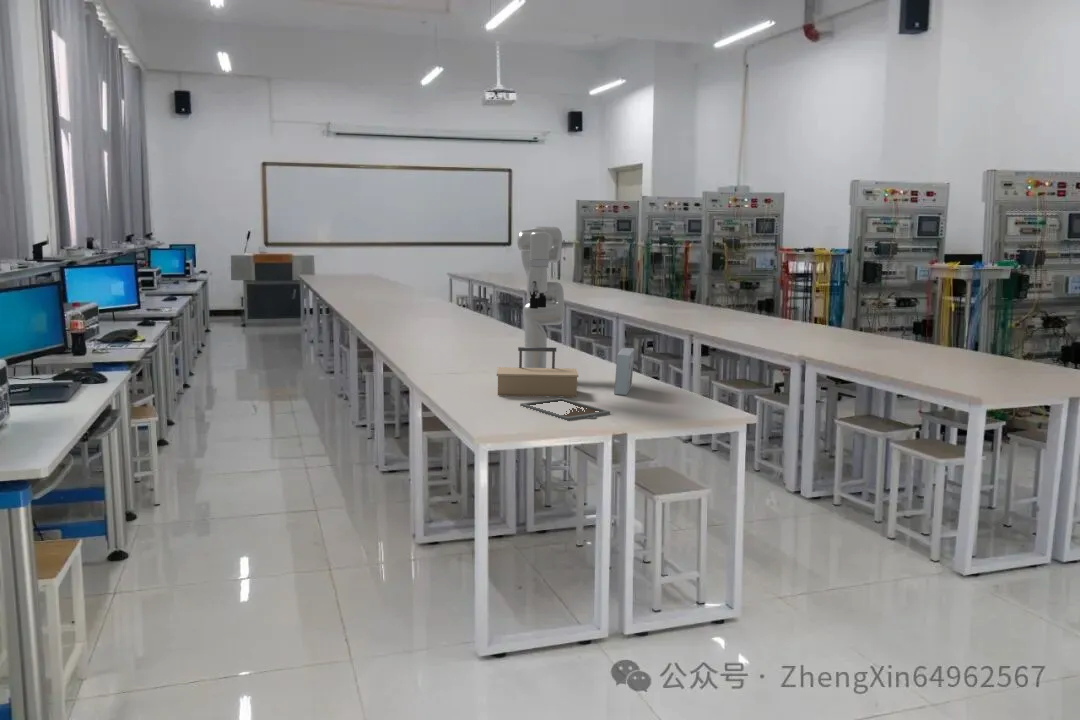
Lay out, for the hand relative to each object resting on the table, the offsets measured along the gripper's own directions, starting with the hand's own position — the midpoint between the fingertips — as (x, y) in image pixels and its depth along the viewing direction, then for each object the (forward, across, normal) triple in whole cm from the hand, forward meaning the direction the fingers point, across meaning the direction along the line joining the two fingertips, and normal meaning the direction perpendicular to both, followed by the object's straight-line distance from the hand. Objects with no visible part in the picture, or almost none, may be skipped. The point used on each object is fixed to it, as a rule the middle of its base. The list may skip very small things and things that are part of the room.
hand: (538, 307), depth 337 cm
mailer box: (+33, +8, +3) cm, 34 cm away
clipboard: (+35, +33, +23) cm, 53 cm away
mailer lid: (+25, +7, +3) cm, 26 cm away
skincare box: (+32, -13, +32) cm, 48 cm away
